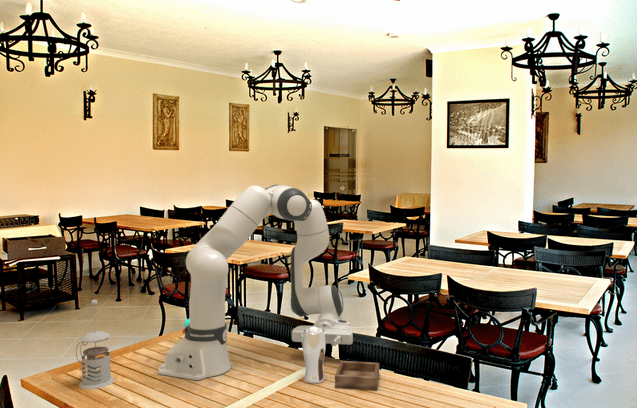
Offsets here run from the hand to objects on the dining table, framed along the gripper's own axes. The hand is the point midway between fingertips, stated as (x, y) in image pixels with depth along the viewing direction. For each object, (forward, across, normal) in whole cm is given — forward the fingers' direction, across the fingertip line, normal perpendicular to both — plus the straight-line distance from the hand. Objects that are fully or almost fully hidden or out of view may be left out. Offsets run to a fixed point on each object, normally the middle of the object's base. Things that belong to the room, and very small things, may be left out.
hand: (318, 342), depth 157 cm
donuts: (-15, -47, +9) cm, 50 cm away
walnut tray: (+7, +13, +8) cm, 17 cm away
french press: (+20, -65, +9) cm, 69 cm away
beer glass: (+8, 0, +9) cm, 12 cm away
